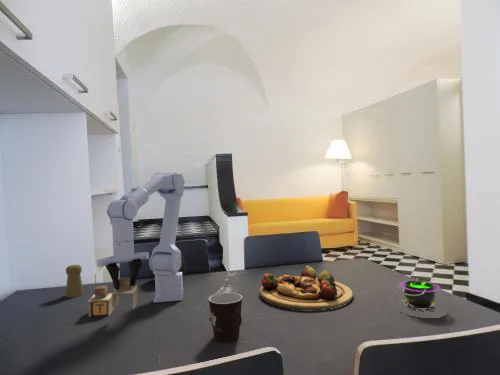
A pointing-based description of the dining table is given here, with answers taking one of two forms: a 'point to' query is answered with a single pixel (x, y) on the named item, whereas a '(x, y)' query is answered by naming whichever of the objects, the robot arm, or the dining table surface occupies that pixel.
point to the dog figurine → (229, 284)
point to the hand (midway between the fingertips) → (124, 287)
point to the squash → (182, 269)
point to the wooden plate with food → (305, 291)
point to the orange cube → (100, 308)
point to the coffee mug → (226, 316)
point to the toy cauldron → (419, 294)
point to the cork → (74, 281)
